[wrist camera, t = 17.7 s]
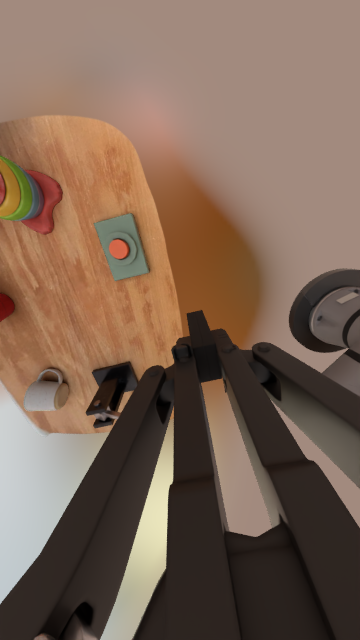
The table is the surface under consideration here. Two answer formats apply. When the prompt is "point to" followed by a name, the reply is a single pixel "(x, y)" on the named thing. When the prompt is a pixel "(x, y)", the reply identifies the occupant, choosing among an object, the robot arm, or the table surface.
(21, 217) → the stacking bear
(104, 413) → the lever
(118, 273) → the control block
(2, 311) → the plastic cup
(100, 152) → the table surface
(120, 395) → the bracket
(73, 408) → the table surface
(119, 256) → the button
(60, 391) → the ceramic mug
